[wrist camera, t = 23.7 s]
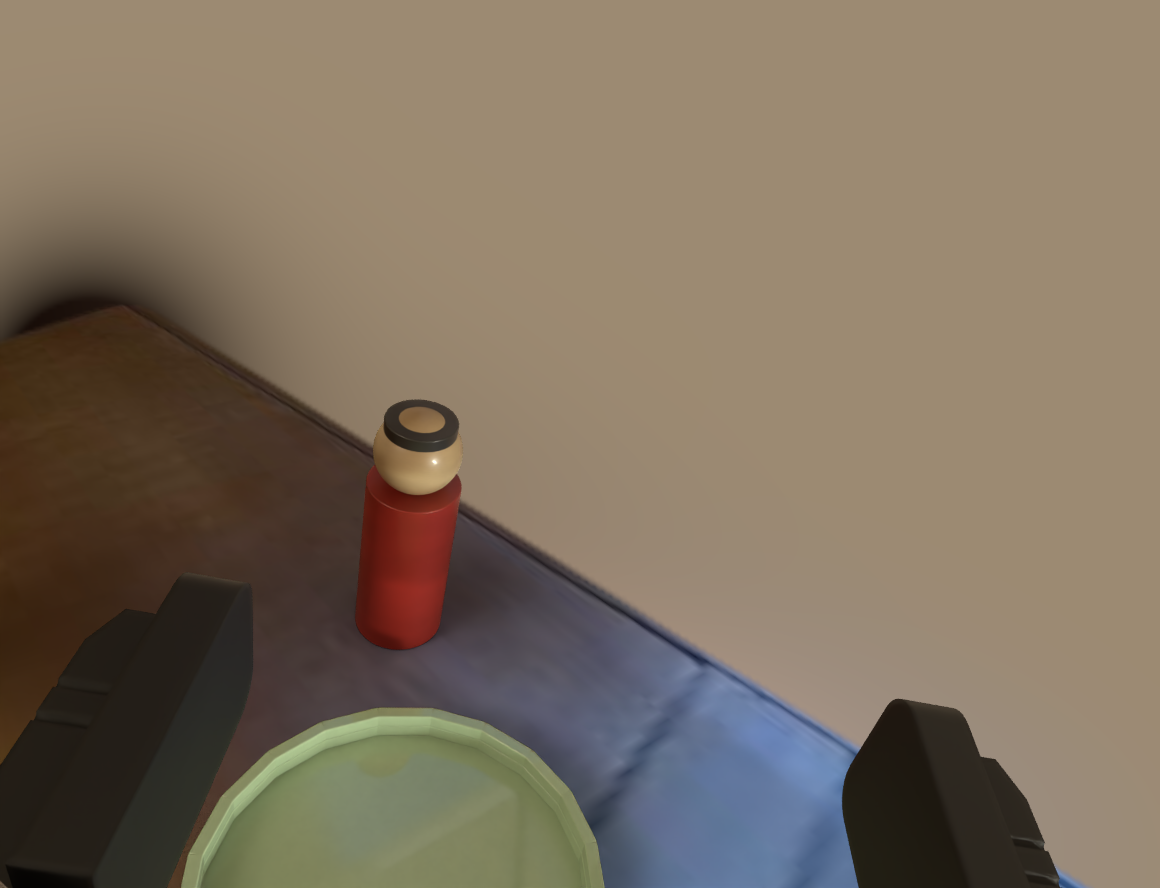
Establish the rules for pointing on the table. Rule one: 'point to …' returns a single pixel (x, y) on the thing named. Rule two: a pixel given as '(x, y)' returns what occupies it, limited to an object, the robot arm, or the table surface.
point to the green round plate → (397, 812)
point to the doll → (408, 524)
